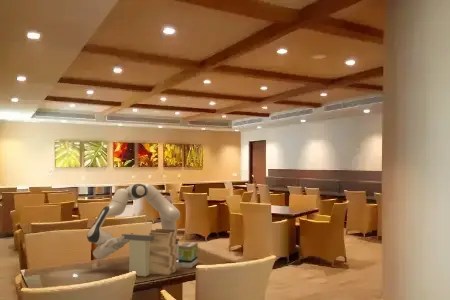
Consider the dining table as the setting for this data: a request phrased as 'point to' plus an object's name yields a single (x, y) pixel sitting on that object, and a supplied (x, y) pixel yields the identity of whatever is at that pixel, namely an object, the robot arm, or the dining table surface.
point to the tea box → (187, 255)
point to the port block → (139, 257)
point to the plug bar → (139, 237)
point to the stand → (162, 252)
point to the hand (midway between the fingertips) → (128, 235)
